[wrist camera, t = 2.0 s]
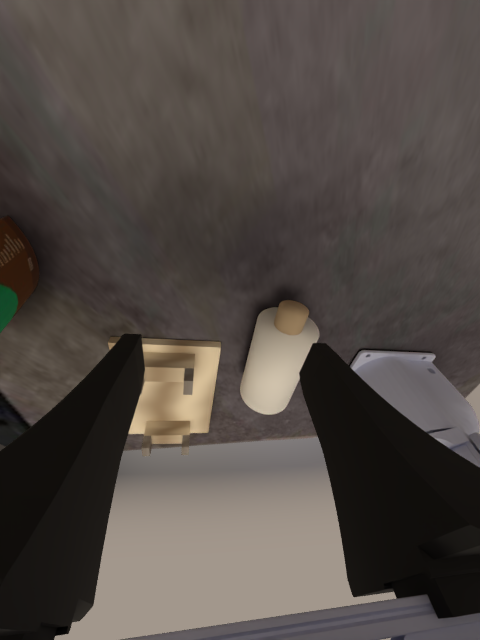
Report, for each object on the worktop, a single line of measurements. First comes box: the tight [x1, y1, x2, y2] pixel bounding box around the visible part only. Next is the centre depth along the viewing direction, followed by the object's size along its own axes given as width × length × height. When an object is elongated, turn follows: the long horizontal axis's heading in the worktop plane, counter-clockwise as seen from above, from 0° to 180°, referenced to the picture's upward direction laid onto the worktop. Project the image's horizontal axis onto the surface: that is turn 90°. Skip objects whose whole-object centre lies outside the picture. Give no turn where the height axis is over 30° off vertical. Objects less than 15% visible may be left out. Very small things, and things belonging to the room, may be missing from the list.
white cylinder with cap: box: [240, 300, 319, 415], centre depth 23 cm, size 5×12×5 cm, turn 171°
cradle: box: [108, 337, 221, 456], centre depth 27 cm, size 10×16×4 cm, turn 171°
